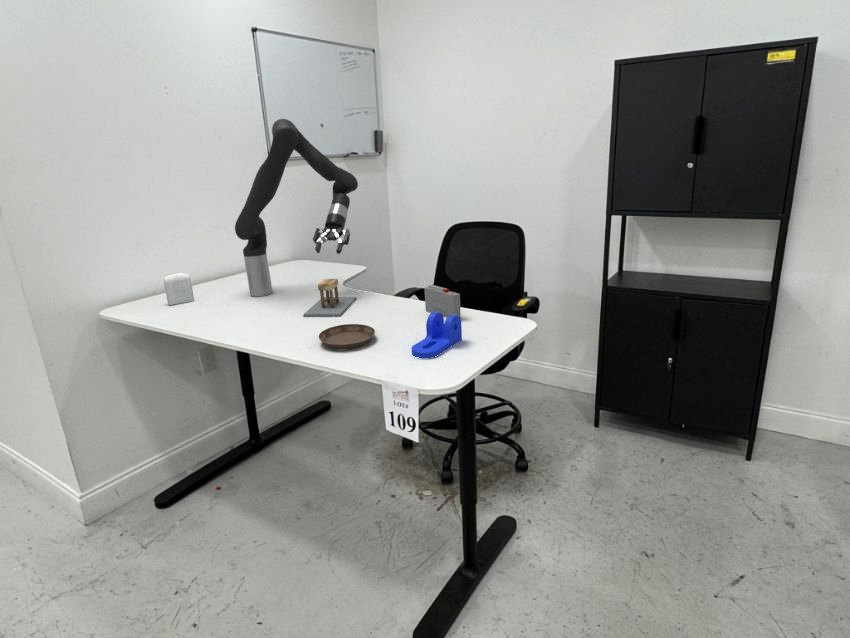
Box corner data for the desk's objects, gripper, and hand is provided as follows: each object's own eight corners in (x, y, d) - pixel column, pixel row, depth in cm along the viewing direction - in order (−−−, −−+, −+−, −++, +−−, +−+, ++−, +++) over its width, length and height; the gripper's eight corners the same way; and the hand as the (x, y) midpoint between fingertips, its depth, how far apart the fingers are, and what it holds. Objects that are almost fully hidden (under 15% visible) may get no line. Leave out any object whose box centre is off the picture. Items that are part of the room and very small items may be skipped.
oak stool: (320, 308, 197) (317, 284, 194) (327, 302, 205) (324, 278, 202) (333, 308, 196) (331, 284, 193) (340, 302, 204) (337, 278, 201)
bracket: (439, 336, 166) (437, 309, 163) (461, 340, 161) (461, 312, 159) (406, 356, 152) (404, 327, 149) (430, 361, 147) (428, 331, 145)
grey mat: (323, 299, 212) (323, 297, 212) (356, 299, 210) (356, 296, 210) (303, 316, 192) (303, 314, 191) (340, 316, 190) (339, 314, 189)
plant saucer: (386, 341, 165) (386, 331, 164) (339, 357, 154) (338, 348, 153) (355, 328, 178) (354, 320, 177) (309, 343, 167) (308, 334, 166)
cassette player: (460, 318, 181) (459, 291, 177) (454, 320, 179) (453, 292, 176) (431, 309, 192) (430, 283, 189) (425, 311, 191) (424, 285, 187)
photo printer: (193, 299, 224) (187, 270, 220) (195, 301, 220) (189, 272, 216) (167, 304, 218) (161, 275, 214) (169, 306, 215) (162, 277, 211)
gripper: (316, 212, 209) (307, 246, 202) (350, 212, 205) (341, 247, 199) (323, 223, 215) (314, 256, 209) (356, 223, 212) (347, 258, 205)
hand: (327, 252), depth 204 cm, fingers open, 8 cm apart
